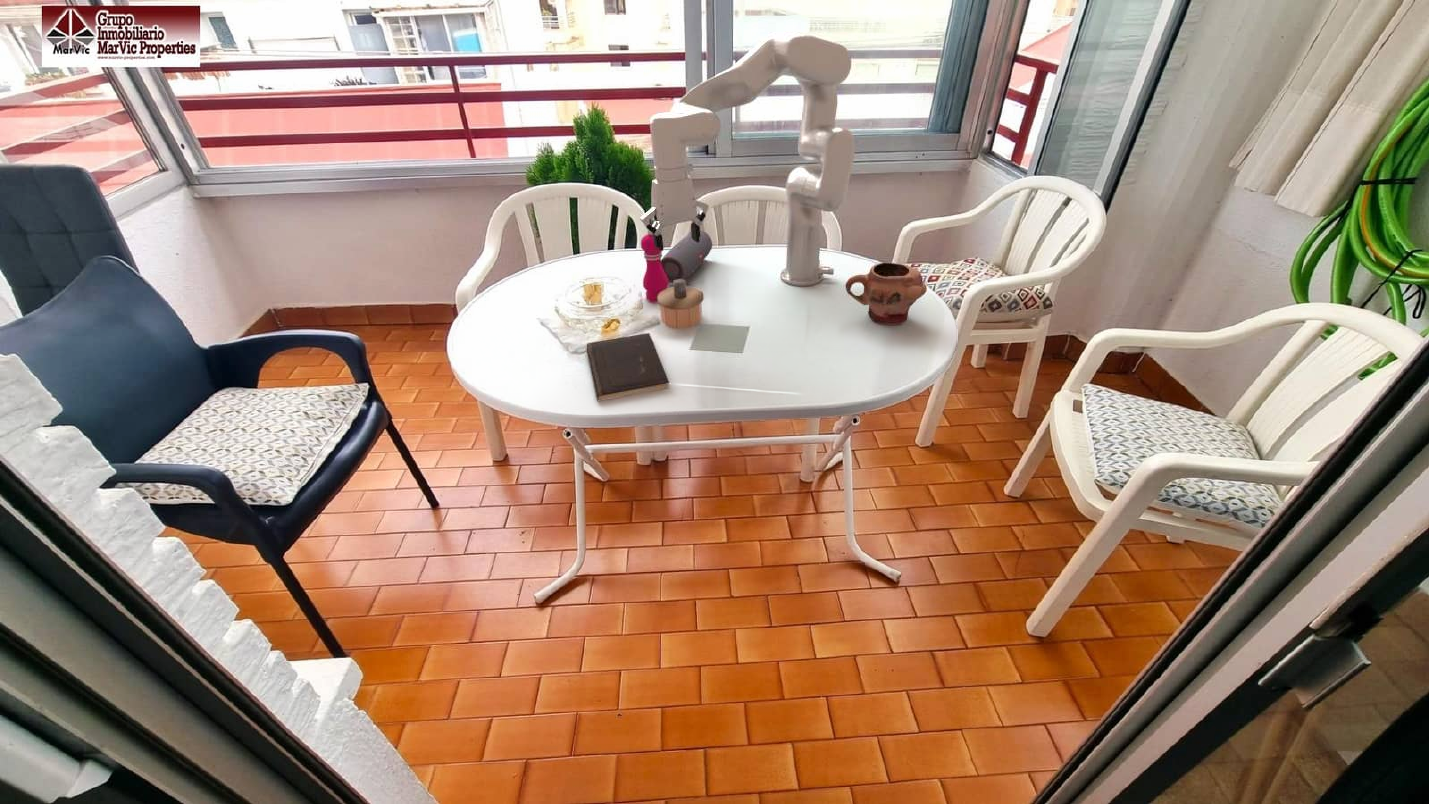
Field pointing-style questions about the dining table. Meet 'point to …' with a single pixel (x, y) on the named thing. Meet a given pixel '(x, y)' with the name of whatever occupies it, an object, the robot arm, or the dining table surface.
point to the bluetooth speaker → (686, 256)
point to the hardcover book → (625, 366)
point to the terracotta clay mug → (889, 291)
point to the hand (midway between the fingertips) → (678, 244)
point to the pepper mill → (653, 269)
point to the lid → (680, 296)
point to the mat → (720, 338)
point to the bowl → (681, 316)
